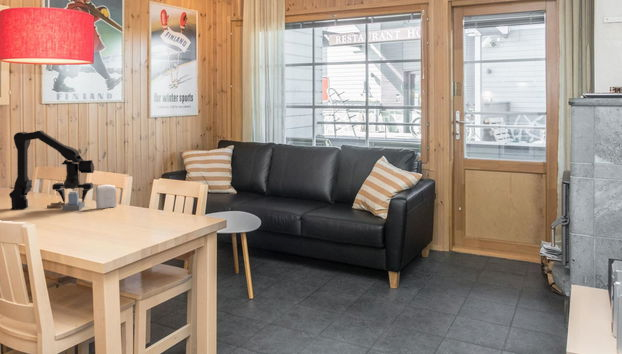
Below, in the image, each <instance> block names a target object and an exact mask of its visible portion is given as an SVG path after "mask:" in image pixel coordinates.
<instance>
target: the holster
mask: <svg viewBox="0 0 622 354" xmlns="http://www.w3.org/2000/svg"><path fill="white" fill-rule="evenodd" d="M65 204H66V202H65V203H64V202H62V201H60V200H59V201H58V202H51V203H50V204H47V205H46V209H63V207H62V206H63V205H65Z"/></svg>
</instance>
